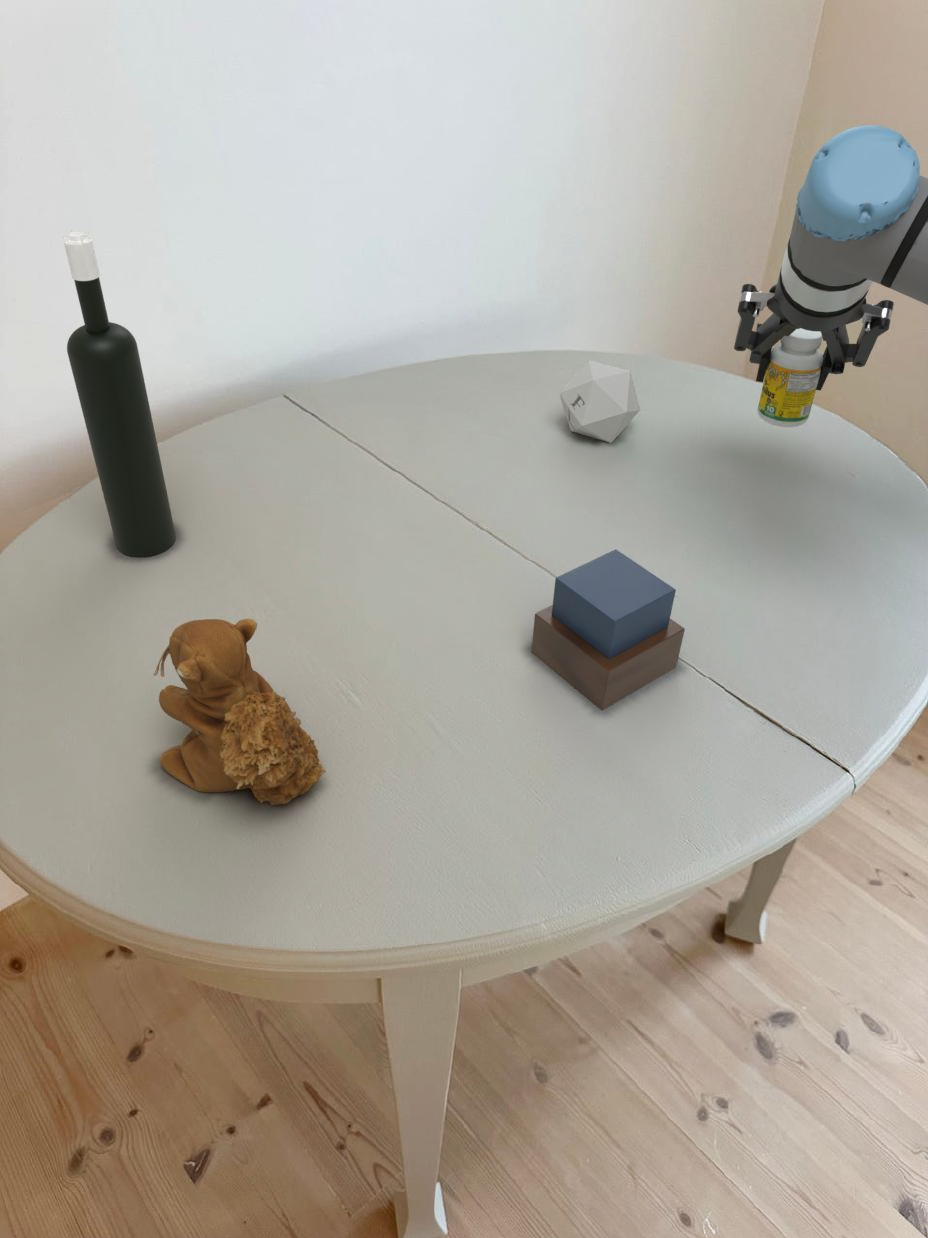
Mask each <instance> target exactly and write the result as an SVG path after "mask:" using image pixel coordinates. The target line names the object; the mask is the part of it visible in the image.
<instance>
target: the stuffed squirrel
mask: <svg viewBox="0 0 928 1238" xmlns="http://www.w3.org/2000/svg"><path fill="white" fill-rule="evenodd" d="M257 628H258V622H257V621H256V619H254V618H243V619H240V620H238V621H237V622H236V623H235V624H233V623H231V622H230V621H227V620H225V619H219V618H209V619H208V618H206V619H194V620H190V621H186V622H184V623H182V624H180V625H179V626H177V627H176V628H175V629H174V630H173V631H172V633H171V636H170V637H169V642H168V645H167V646H166V648H165V649H164V651H163V653H162V654H161V656H160V658H159V660H158V663H157V665H156V668H155V670H154V672H153V676H154V677H156V676H157V675H158V673H159V672H160V677H162V678H164V677H165V662H166V659H167V657H168V655H169V656H170V660H171V662H172V665H173V667H174V669H175V672H176V673H177V675H178V677H179V678H180V681H181V682H182V683H183V685H184V686H185V688H184V687H180V686H177V685H173V684H169V685H167V686H165V688H164V689H161V691H159V695H158V703H159V706H160V708H161V709H162V711H163V713H165V714H166V715H167V716H169V717H171V718H172V719H174V720H176V721H178V722H180V723H182V724H183V725H184V726H187V727H188V728H189V729H191V731H190V732H189V733H188V734H187V735H186V736H185V738H184V739H183V741H182V743H181V745H176V746H173V747H169V748H168V749H166V750H164V751H163V753H162V754H161V756H160V758H159V764H160V766H161V767H162V768H163V770H164V771H166V773H167V774H169V775H170V776H171V777H173V778H174V779H176V780H178V781H179V782H181V783H183V784H184V785H186V786H187V787H189V788H191V789H192V790H195V791H197V792H200V793H224V792H232V791H233V792H234V791H238V790H245V789H250V791H252V792H251V794H253V797H255V798H256V800H257V801H259V803H260V804H262V803H264V802H269V804H270V805H271V806H276V805H286V804H288V803H290V802H291V800H293V799H294V798H297V796H299V795H303V794H305V793H307V792H309V791H310V790H311V789H312V787H313V786H314V785H315V784H317V783H318V782H319V780H320V778H321V777H322V776H323V775H324V773H326V772H327V771H326V769H323V764H321V763H320V759H319V756H318V755H319V751H318V748H317V746H316V745H315V739H312V737H311V735H309V734H308V733H307V731H305V729H303V728H302V727H301V724H302V720H301V719H300V718H298V717H297V716H296V714H297V711H292V710H291V707H290V706H289V704H288V703H287V701H286V699H287V697H285V696H281V695H279V694H277V692H276V691H274V689H273V687H272V686H271V684H270V683H269V682H268V681H267V680H266V679H265V677H263V676H262V675H261V674H260V673H259V672H258V671H257V670H254V669H253V666H252V662H251V657H250V655H249V653H248V646H247V643H248V642H249V641H250V640H251V639H252V638H253V636H254V635H255V633H256V631H257ZM295 716H296V717H295Z"/></svg>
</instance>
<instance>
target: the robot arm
mask: <svg viewBox="0 0 928 1238" xmlns="http://www.w3.org/2000/svg"><path fill="white" fill-rule="evenodd" d="M920 173H921V165H920V159H919V155H918V154H917V151H916V149H914V147H912V145H911V144H910V142H909V141H908V140H907V139H906V138H905V137H904V136H903V134H901V133H900V132H898V131H896V130H895V129H892V128H890V127H886V126H882V125H875V124H874V125H873V124H868V125H866V124H865V125H859V126H854V127H851V128H848V129H845V130H843V131H841V132H839V133H838V134H836V135H834V136H833V137H831V138H830V139H829V140H827V141H826V142H825V143H824V144H823V145H822V146H821V147H820V149H819V150H818V151H817V153H816V154H815V155H814V156H813V157H812V160H811V162H810V166H809V168H808V171H807V174H806V177H805V179H804V183H803V184H802V186H801V188H800V189H799V191H798V193H797V197H796V201H797V202H796V203H795V211H794V216H793V221H792V225H791V230H790V234H789V238H788V242H787V244H786V248H785V251H784V255H783V259H782V262H781V267H780V271H779V275H778V279H777V283H776V284H774V285H772V286H771V287H770V289H769V290H768V291H763V290H758V288H757V287H756V285H754V284H752V283H744V284H743V285H742V287H741V292H740V298H739V301H738V307H737V314H738V315H739V317H740V319H739V323H738V327H737V331H736V337H735V341H734V345H733V349H734V350H735V351H737V352H745V351H746V350H750V356H749V361H748V362H750V363H751V364H756V365H758V369H757V373H756V378H755V382H756V383H757V382H758V383H764V379H765V374H766V370H767V366H768V363H769V359H770V354H771V351H772V349H773V348H774V346H776V345H777V343H779V341H781V340H780V339H781V338H783V337H784V336H789V335H790V334H792V333H793V332H794V331H795V330H796V329H800V328H802V329H805V330H808V331H820V332H821V334H822V341H823V342H825V343H826V347H825V350H824V351H823V354H822V356H823V365H822V369H821V373H820V376H819V380H818V384H817V388H816V391H822V389H823V387H824V385H825V384H826V383H825V382H826V380H827V378H828V376H829V374H831V375H843V374H844V371H845V367H846V364H847V363H851V364H852V366H854V367H857V368H862V367H865V366H866V364H867V362H868V360H869V357H870V355H871V353H872V351H873V349H874V347H875V345H876V342H877V339H878V338H879V337H880V336H881V335H883V334H884V333H886V332H887V331H889V330H890V325H891V319H892V314H893V311H894V310H893V309H894V306H895V303H894V301H893V300H889V299H883V300H881V301H879V302H877V303H876V304H875V303H867V298H866V297H867V295H868V293H869V290H870V289H871V286H872V284H873V282H874V283H876V284H878V285H881V286H883V287H885V288H888V289H891V290H892V291H895V292H898V293H899V294H902V295H904V296H906V297H908V298H911V299H913V300H916V301H918V302H920V303H922V304H924V305H927V306H928V178H927V177H925V176H922V175H921V174H920ZM766 307H767V308H768V310H769V311H771V313H772V314H771V315H769V317H768V318H766V319H765V321H764V322H763V323H759V322H757V324H756V328H755V330H753V329H754V325H755V322H756V318H759V315H760V312H763V310H764V308H766ZM860 320H862V321H861V323H862V324H863V325H862V326H861V330H860V331H859V334H858V337H857V339H856V343H850V338H849V334H848V329H847V325H850V324H852V323H855V322H858V321H860Z"/></svg>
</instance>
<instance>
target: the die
mask: <svg viewBox="0 0 928 1238" xmlns="http://www.w3.org/2000/svg"><path fill="white" fill-rule="evenodd" d="M558 395H559V398H560V401H561V404H562V407H563V411H564V414H565V417H566V420H567V423H568V426H569V431H570V432H572V433H576V434H578V435H581V436H585V437H589V438H592V439H596V440H599V441H603V442H606V443H610V444H612V443H613V442H614V441H615V440H616V438H617V437H619V435H620V434H621V433H622V432H623V431H624V430H625V428H626V427H627V426H628V425H629V424H630V423H631V422H632V421H633V419H634V418H635V417H636V416H637V415H638V414H639V413H640V411H641V408H640V407H641V406H640V403H639V399H638V396H637V391H636V387H635V384H634V380H633V377H632V372H631V370H628V369H624V368H620V367H617V366H612V365H608V364H605V363H601V362H598V361H594V360H589V359H588V360H587V361H586V362H585V364H584V365H582V367H581V368H580V369H579V370H578V372H577V373H576V374H575V375H574V376H573V377H572V378H571V379H570V380H569V382H568V383H566V385H565V386H564V387H563V388H562V389H561V390H560V392H559V393H558Z"/></svg>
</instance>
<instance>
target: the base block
mask: <svg viewBox="0 0 928 1238" xmlns="http://www.w3.org/2000/svg"><path fill="white" fill-rule="evenodd" d="M552 607H553V604H552V605H550V606H547V607H545V608H543V609H542V610H539V611H537V612H535V613H534V620H533V630H532V640H531V653H532V654H533V655H534V656H535V657H536V658H537V659H539V660H540V661H541V662H542V663H544V664H545V665H546V666H547V667H549V669H551V670H552V671H553V672H554V673H556V675H558V676H559V677H560V678H562V679H563V681H565V682H567V683H568V684H569V685H570V686H571V687H572V688H573V689H575V690H576V691H577V692H579V694H581V695H582V696H583V697H584V698H586V699H587V700H588V701H589V702H591V703H592V704H593V705H594V706H596V707H597V708H598V709H599V710H600V711H604V710H606V709H608V708H609V707H611V706H612V705H614V704H616V703H618V702H620V701H622V700H623V699H624V698H625V699H626V698H627V697H628V696H630V695H632V694H633V693H635V692H637V691H638V690H641V689H642V688H644V687H645V686H648V685H649V684H650V683H652V682H654V681H656V680H657V679H660V678H661V677H662V676H664V675H666V674H668V673H669V672H671V671H673V670H675V669H676V668H677V665H678V662H679V657H680V652H681V648H682V644H683V639H684V634H685V631H686V629H685V628H684V627H683V626H682V625H681V624H679V623H678V622H676V621H675V620H673V619H672V618H670V620H669V625H668V627H666V628H665V629H663V630H661V631H659V632H657V633H656V634H654V635H652V636H650V637H648V638H646V639H645V640H643V641H641V642H639V643H637V644H636V645H634V646H632V647H630V648H628V649H626V650H625V651H623V652H621V653H619V654H617V655H616V656H614V657H612V658H610V659H608V658H607V657H605V656H604V655H603V654H602V653H600V652H599V651H598V650H596V649H595V648H594V647H593V646H591V645H590V644H589V643H587V642H586V641H585V640H583V639H582V638H581V637H580V636H578V635H577V634H576V633H574V632H573V631H572V630H571V629H569V628H568V627H567V626H565V625H564V624H563V623H562V622H560V621H559V620H558V619H556V618H555V617H554V616H553V615H552Z"/></svg>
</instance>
